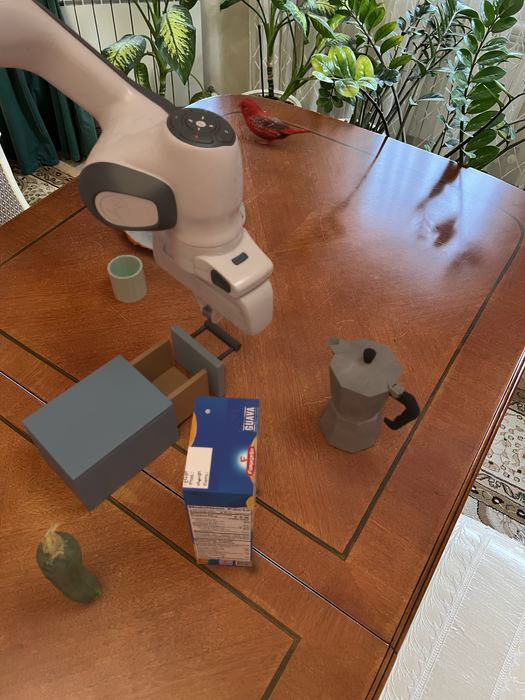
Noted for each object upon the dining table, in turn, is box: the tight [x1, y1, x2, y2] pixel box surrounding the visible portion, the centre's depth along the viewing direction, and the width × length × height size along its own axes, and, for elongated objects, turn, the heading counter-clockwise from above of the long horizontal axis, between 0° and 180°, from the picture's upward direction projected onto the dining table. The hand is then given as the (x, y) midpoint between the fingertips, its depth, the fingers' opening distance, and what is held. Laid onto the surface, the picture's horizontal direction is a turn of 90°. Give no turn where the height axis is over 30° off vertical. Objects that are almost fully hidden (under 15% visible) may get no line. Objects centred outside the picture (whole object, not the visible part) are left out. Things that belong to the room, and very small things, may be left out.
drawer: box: [128, 318, 243, 427], centre depth 84 cm, size 20×10×8 cm, turn 136°
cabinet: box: [21, 354, 180, 512], centre depth 78 cm, size 16×12×10 cm
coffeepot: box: [318, 336, 421, 454], centre depth 78 cm, size 15×9×18 cm, turn 43°
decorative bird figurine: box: [236, 97, 312, 147], centre depth 127 cm, size 3×18×10 cm, turn 67°
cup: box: [106, 254, 148, 304], centre depth 99 cm, size 6×6×6 cm
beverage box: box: [181, 395, 260, 568], centre depth 67 cm, size 7×11×22 cm, turn 177°
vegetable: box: [35, 520, 102, 605], centre depth 62 cm, size 4×4×20 cm
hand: (211, 316), depth 82 cm, fingers closed
